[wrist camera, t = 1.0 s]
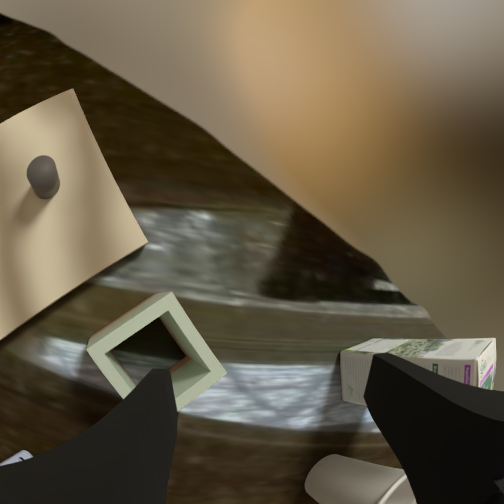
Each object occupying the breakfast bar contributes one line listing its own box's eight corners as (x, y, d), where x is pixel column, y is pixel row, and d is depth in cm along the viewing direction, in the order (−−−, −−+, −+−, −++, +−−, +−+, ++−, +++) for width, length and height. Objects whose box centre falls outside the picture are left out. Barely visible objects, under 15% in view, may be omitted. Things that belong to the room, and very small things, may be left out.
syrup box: (340, 402, 26) (471, 431, 13) (337, 348, 27) (480, 359, 14) (375, 383, 29) (492, 398, 16) (373, 334, 29) (498, 335, 17)
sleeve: (138, 401, 17) (151, 430, 13) (90, 337, 17) (86, 349, 12) (199, 358, 20) (227, 373, 16) (155, 293, 19) (171, 291, 15)
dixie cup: (295, 515, 21) (360, 557, 13) (291, 463, 22) (369, 506, 14) (351, 483, 25) (416, 509, 17) (353, 431, 26) (429, 454, 18)
